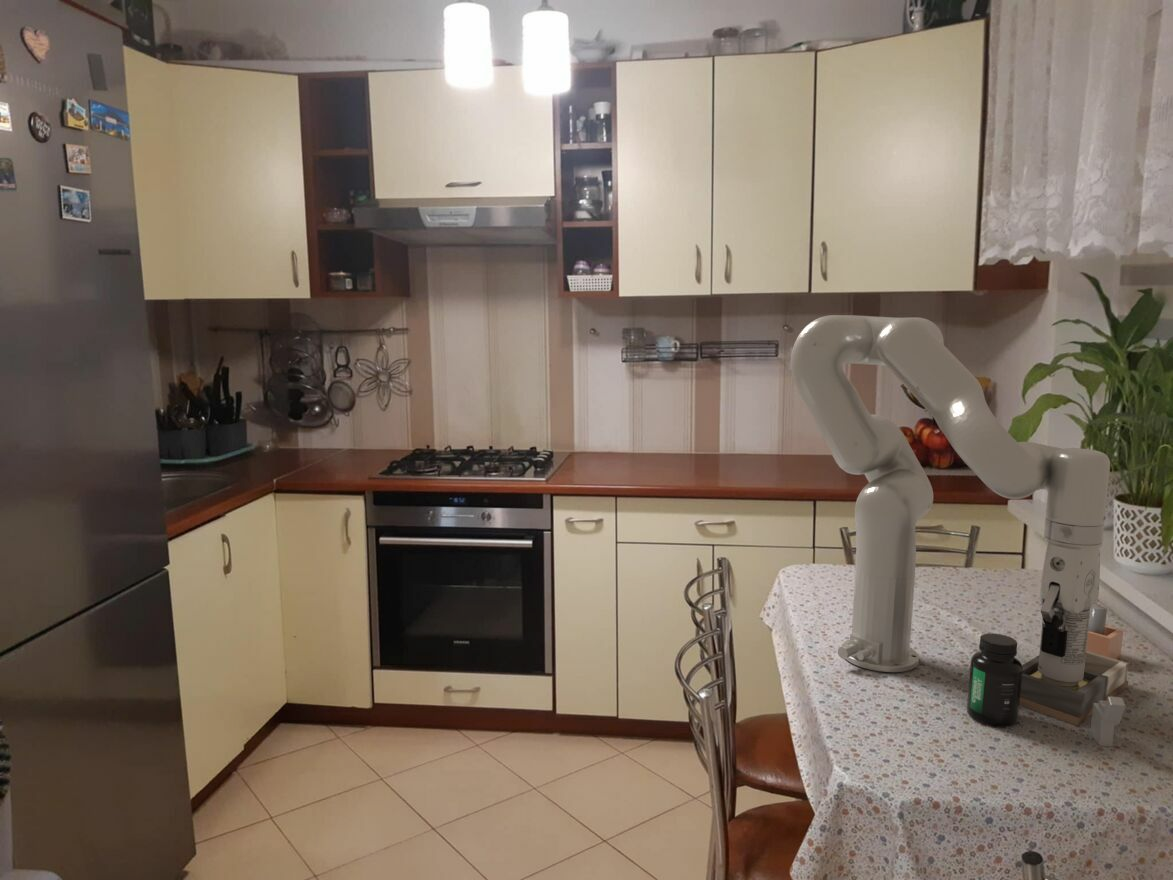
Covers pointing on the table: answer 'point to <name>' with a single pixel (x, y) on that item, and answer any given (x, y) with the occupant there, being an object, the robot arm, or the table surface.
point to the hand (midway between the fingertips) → (1062, 647)
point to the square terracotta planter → (1103, 635)
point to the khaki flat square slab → (1077, 687)
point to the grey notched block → (1106, 719)
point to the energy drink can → (1068, 651)
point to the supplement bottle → (995, 681)
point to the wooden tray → (1070, 703)
